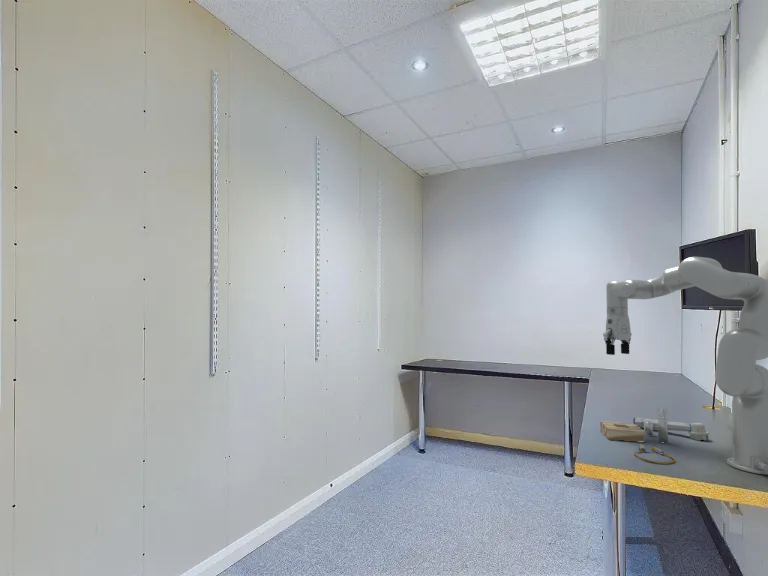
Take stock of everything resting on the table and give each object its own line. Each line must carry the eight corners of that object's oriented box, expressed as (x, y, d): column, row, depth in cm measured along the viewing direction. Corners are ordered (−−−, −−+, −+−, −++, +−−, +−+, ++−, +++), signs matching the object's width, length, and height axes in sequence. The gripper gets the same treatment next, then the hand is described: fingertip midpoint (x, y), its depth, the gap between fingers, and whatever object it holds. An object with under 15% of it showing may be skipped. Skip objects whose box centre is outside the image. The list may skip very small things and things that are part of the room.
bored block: (644, 442, 154) (644, 431, 154) (608, 439, 157) (608, 428, 157) (634, 433, 165) (633, 423, 166) (600, 431, 168) (600, 421, 169)
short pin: (654, 436, 162) (653, 423, 162) (645, 435, 163) (645, 422, 163) (651, 434, 165) (651, 421, 165) (642, 433, 166) (642, 420, 166)
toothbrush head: (636, 416, 178) (708, 420, 159) (639, 433, 177) (711, 438, 158) (631, 418, 175) (704, 422, 156) (634, 435, 174) (707, 441, 155)
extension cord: (681, 457, 140) (681, 450, 140) (670, 468, 129) (670, 462, 129) (640, 448, 149) (639, 442, 149) (626, 458, 138) (626, 452, 138)
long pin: (669, 443, 153) (668, 410, 154) (660, 442, 154) (659, 409, 154) (666, 441, 156) (665, 408, 157) (657, 440, 157) (656, 407, 157)
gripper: (613, 311, 165) (613, 355, 164) (638, 312, 173) (639, 354, 172) (595, 311, 171) (596, 354, 170) (620, 312, 179) (621, 352, 178)
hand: (617, 354), depth 171 cm, fingers open, 9 cm apart
